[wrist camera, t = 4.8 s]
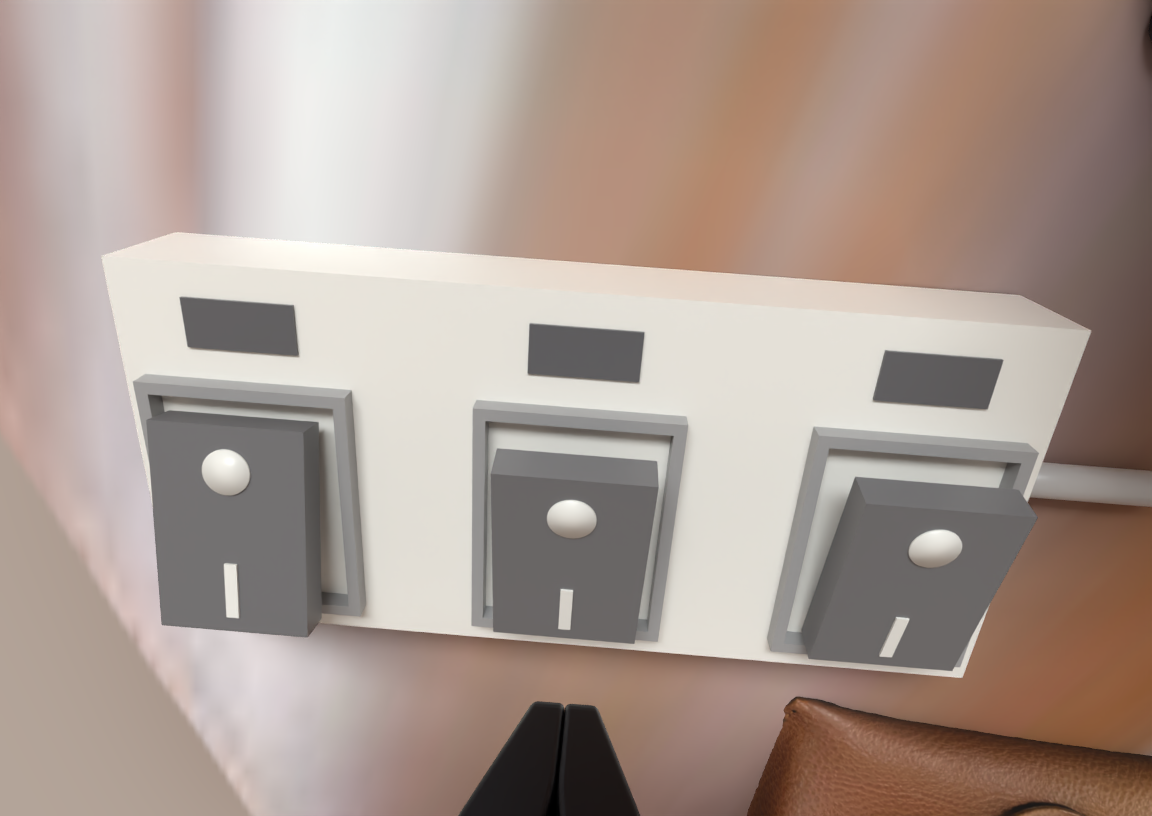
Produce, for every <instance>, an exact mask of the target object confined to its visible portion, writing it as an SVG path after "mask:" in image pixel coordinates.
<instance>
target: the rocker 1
mask: <svg viewBox="0 0 1152 816" xmlns="http://www.w3.org/2000/svg"><path fill="white" fill-rule="evenodd" d="M146 424H147V437H148V450H149V463H150V477H151V490H152V503H153V516H154V529H155V542H156V555H157V569H158V582H159V595H160V608H161V621H162V625H168V626H179V627H191V628H203V629H214V630H226V631H238V632H250V633H261V634H273V635H285V636H296V637H308V636H309V635H310V634H311V632H312V631H313V629H314V628H315V627H316V625H317V624H318V623H319V621H320V620H321V618H322V601H321V538H320V475H319V422H312V421H299V420H287V419H274V418H262V417H249V416H236V415H224V414H211V413H199V412H186V411H174V410H169V411H166V412H164V413H161V414H159V415H157V416H154V417H152V418H149V419H147V420H146Z"/></svg>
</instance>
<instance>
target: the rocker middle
mask: <svg viewBox="0 0 1152 816" xmlns="http://www.w3.org/2000/svg"><path fill="white" fill-rule="evenodd" d="M658 489H659V483H658V465H657V461H650V460H638V459H625V458H613V457H600V456H588V455H575V454H563V453H550V452H538V451H525V450H513V449H500V448H497V450H496V454H495V458H494V462H493V466H492V470H491V530H492V590H493V632H499V633H511V634H523V635H534V636H546V637H558V638H570V639H582V640H593V641H605V642H617V643H629V644H634V643H635V637H636V630H637V624H638V618H639V611H640V605H641V598H642V592H643V585H644V579H645V572H646V566H647V560H648V553H649V547H650V540H651V534H652V527H653V521H654V514H655V508H656V502H657V495H658Z"/></svg>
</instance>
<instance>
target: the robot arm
mask: <svg viewBox="0 0 1152 816" xmlns="http://www.w3.org/2000/svg"><path fill="white" fill-rule="evenodd" d="M1148 31H1149V35H1150V40H1151V41H1152V17H1151V20H1150V24H1149V30H1148ZM458 816H640V814H639V811H638V809H637V806H636V804H635V801H634V798H633V796H632V793H631V791H630V788H629V786H628V783H627V781H626V778H625V776H624V773H623V771H622V768H621V766H620V763H619V761H618V758H617V756H616V753H615V751H614V748H613V746H612V743H611V741H610V738H609V736H608V733H607V731H606V728H605V725H604V723H603V720H602V718H601V715H600V713H599V711H598V709H597V708H596V707H595V706H591V705H578V704H569V705H567V706H566V708H565V710H564V706H563V705H562V704H560V703H552V702H539V701H538V702H534V703H533V704H532V705H531V706H530V707H529V709H528V710H527V712H526V713H525V715H524V716H523V718H522V719H521V721H520V722H519V724H518V725H517V727H516V728H515V730H514V731H513V733H512V735H511V736H510V738H509V739H508V741H507V742H506V744H505V745H504V747H503V748H502V750H501V751H500V753H499V754H498V756H497V757H496V759H495V760H494V762H493V763H492V765H491V767H490V768H489V770H488V771H487V773H486V774H485V776H484V777H483V779H482V780H481V782H480V783H479V785H478V786H477V788H476V789H475V791H474V792H473V794H472V795H471V797H470V799H469V800H468V802H467V803H466V805H465V806H464V808H463V809H462V811H461V812H460V814H459V815H458Z"/></svg>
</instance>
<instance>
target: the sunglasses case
mask: <svg viewBox="0 0 1152 816" xmlns="http://www.w3.org/2000/svg"><path fill="white" fill-rule="evenodd" d="M784 713H785V717H784V719H783V728H782V729H781V731H780V734H779V736H778V738H777V740H776V743H775V745H774V748H773V749H772V752H771V754H770V757H769V759H768V762H767V764H766V766H765V769H764V772H763V775H762V777H761V779H760V782H759V786H758V788H757V789H756V793H755V794H754V798H753V800H752V802H751V805H750V808H749V809H748V813H747V816H1152V756H1145V755H1140V754H1131V753H1120V752H1110V751H1106V750H1099V749H1092V748H1086V747H1079V746H1071V745H1062V744H1057V743H1048V742H1041V741H1036V740H1028V739H1022V738H1018V737H1007V736H1001V735H995V734H990V733H983V732H978V731H971V730H964V729H958V728H949V727H944V726H939V725H932V724H926V723H919V722H911V721H906V720H900V719H896V718H891V717H887V716H882V715H878V714H873V713H866V712H863V711H858V710H852V709H849V708H843V707H840V706H838V705H836V704H833V703H830V702H826V701H823V700H818V699H810V698H803V697H795V698H794V699H792V700H791V701H790V703H789V704H788V705H786V707H785V709H784Z"/></svg>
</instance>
